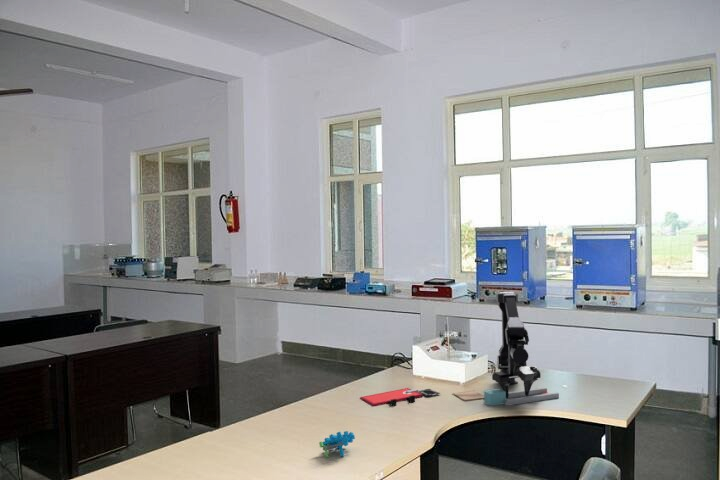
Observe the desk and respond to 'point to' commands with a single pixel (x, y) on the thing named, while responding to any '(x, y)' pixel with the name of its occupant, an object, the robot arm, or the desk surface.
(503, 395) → the teal block
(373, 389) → the desk surface
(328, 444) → the blue plastic figure
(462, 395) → the walnut pad
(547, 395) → the channel
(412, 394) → the red board with handle
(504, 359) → the robot arm
